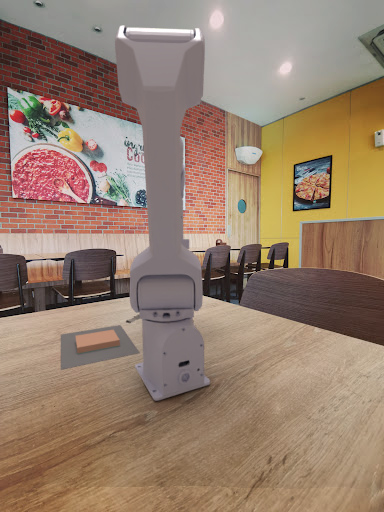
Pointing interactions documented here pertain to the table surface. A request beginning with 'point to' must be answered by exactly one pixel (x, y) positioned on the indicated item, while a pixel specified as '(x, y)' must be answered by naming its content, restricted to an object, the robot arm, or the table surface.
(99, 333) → the tile
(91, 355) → the mat
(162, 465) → the table surface
